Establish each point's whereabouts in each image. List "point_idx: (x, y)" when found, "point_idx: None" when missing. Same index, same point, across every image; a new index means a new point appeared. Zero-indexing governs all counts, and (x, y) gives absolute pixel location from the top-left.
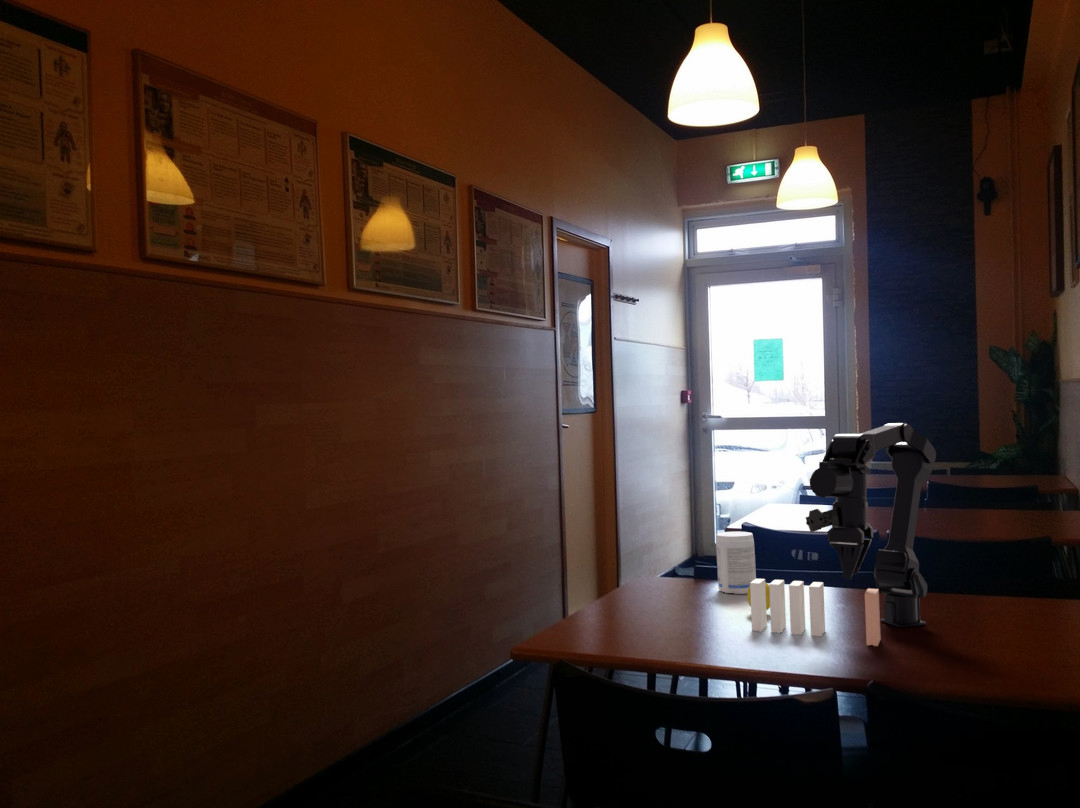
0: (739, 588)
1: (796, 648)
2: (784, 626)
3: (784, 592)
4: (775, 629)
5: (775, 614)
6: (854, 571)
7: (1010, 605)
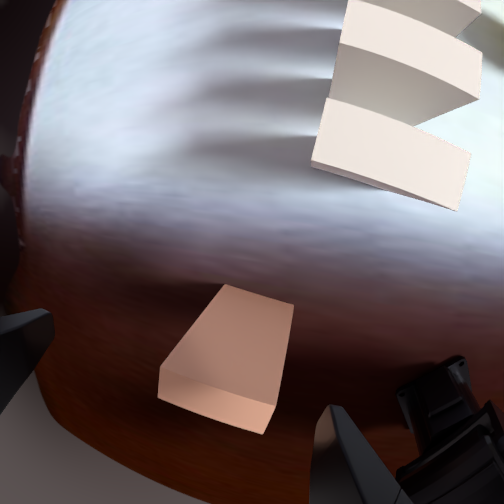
0: None
1: (171, 95)
2: None
3: (453, 34)
4: None
5: None
6: (320, 427)
7: None
